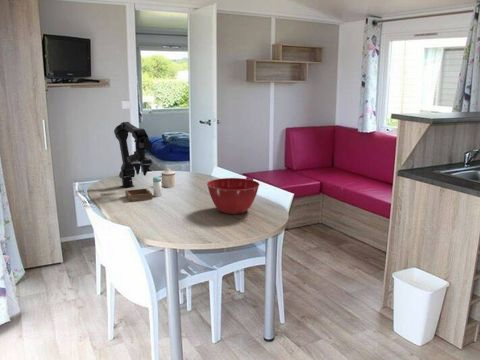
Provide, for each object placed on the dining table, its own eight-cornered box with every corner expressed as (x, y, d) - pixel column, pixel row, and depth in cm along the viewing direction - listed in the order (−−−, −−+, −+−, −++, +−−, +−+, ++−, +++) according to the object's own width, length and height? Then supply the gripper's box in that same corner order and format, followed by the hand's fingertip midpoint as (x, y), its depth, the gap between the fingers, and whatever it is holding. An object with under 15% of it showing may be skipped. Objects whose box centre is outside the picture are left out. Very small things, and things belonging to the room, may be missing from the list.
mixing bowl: (223, 200, 259) (223, 175, 256) (267, 207, 246) (268, 180, 243) (197, 213, 235) (196, 185, 231) (244, 221, 222) (244, 192, 219)
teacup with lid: (172, 183, 298) (172, 167, 296) (177, 186, 291) (176, 169, 288) (155, 185, 293) (155, 168, 290) (159, 188, 285) (159, 171, 282)
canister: (152, 196, 266) (152, 177, 263) (160, 195, 268) (159, 176, 265) (155, 199, 260) (154, 179, 258) (163, 198, 262) (162, 179, 260)
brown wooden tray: (125, 197, 263) (125, 190, 262) (147, 195, 269) (146, 188, 268) (130, 203, 252) (129, 195, 251) (152, 200, 257) (152, 193, 256)
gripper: (121, 149, 270) (122, 174, 271) (134, 150, 255) (135, 177, 257) (138, 149, 277) (138, 173, 278) (152, 149, 262) (152, 175, 264)
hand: (141, 175), depth 269 cm, fingers open, 9 cm apart
